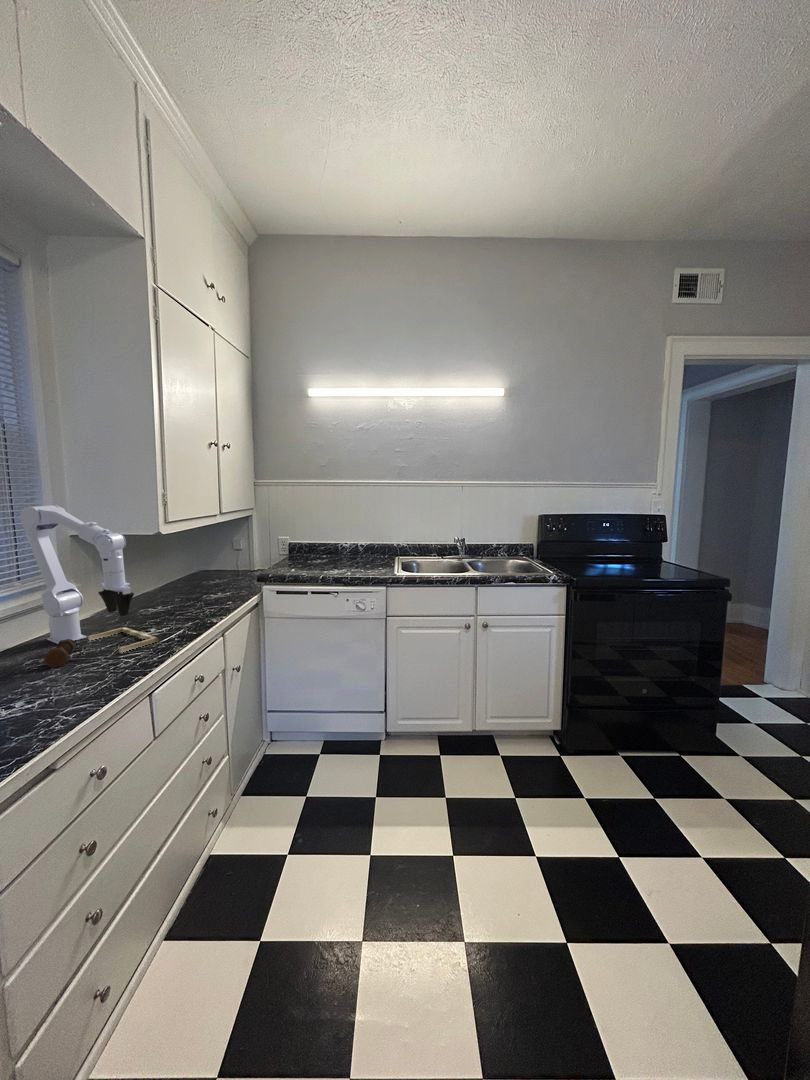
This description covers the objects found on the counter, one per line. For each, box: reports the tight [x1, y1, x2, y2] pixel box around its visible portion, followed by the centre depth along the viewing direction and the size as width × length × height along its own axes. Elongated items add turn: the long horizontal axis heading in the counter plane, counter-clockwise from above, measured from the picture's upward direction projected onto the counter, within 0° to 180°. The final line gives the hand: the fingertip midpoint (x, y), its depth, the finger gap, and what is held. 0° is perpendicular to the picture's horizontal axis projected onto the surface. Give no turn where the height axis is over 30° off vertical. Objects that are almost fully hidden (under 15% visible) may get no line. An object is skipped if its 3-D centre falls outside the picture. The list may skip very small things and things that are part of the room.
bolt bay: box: [87, 626, 159, 654], centre depth 151 cm, size 21×11×2 cm, turn 56°
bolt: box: [43, 639, 77, 668], centre depth 138 cm, size 6×5×15 cm
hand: (118, 613), depth 150 cm, fingers open, 7 cm apart
